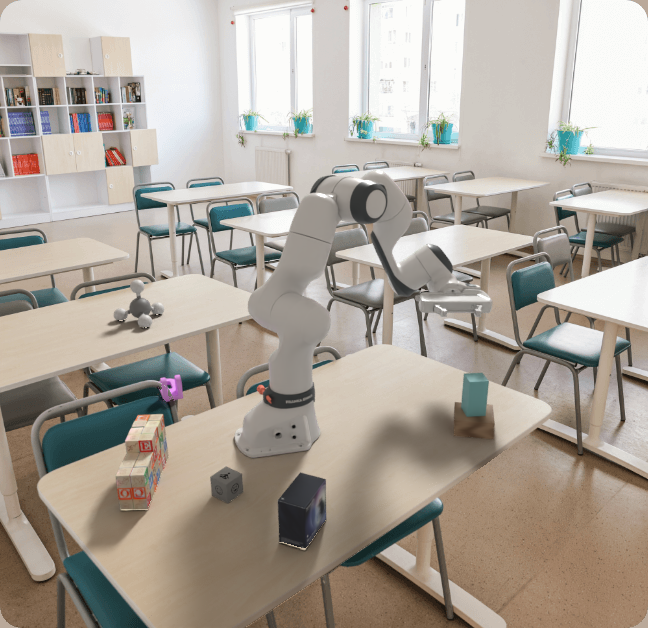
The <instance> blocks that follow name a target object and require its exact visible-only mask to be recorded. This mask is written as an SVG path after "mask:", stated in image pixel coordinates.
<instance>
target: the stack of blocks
mask: <svg viewBox="0 0 648 628" xmlns="http://www.w3.org/2000/svg"><path fill="white" fill-rule="evenodd" d="M164 417H165V416H164V414H163V413H156V414H153V413H152V414H137V416H136V418H135V420H133V423H132V424H131V428H130V429H129V431H128V433H127V436H126V438H125V440H124V444H125V445H124V446H125V450H126V451H125V453H126V454H125V456H124V457H123V460H121V463H120V465H119V467H118V470H117V473H116V474H115V481H116V482H115V483H116V492H117V498H118V504H119V510H120V509H148V506H149V504H150V501H151V500H152V501H153V499H152V498H154V497H153V495H154V496H155V494H154V492H155V493H156V491H157V489H156V487H157V488H158V486H157V484H158V485H159V483H158V481H159V482H160V480H159V478H160V479H161V477H162V474H163V472H162V471H164V470H163V469H165V467H166V465H165V464H167V462H166V461H168V460H167V459H169V457H168V456H169V449H168V442H167V433H166V425H165V418H164ZM164 466H165V467H164ZM161 473H162V474H161ZM160 476H161V477H160ZM155 490H156V491H155ZM152 501H151V502H152ZM150 505H151V504H150ZM149 507H150V506H149ZM148 510H149V509H148Z"/></svg>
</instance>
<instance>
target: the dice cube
mask: <svg viewBox="0 0 648 628" xmlns="http://www.w3.org/2000/svg"><path fill="white" fill-rule="evenodd" d="M209 479H210V488H211V496H212V497H214V498H216V499H217V500H219V501H222V502H224V503H226V504H229V503H231V502H232V501H233V499H234V500H235V499H236V498H238V497H239V496H240V495H242V494H243V493H244V480H243V473H241V472H240V471H238V470H235V469H234V468H231V467H229V466H225V467H223V468H221V469H220V470H218V471H217V472H216V473H214V474H212V475H211V476H210V478H209ZM237 496H238V497H237ZM231 500H232V501H231ZM230 501H231V502H230Z"/></svg>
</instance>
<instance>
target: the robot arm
mask: <svg viewBox="0 0 648 628" xmlns="http://www.w3.org/2000/svg"><path fill="white" fill-rule="evenodd" d="M313 183H314V184H313V185H312V186H311V188H310V192H309V193H308V194H306V195H304V196H303V198H302V199H301V201H300V203H299V205H298V206H297V209H296V211H295V213H294V216H293V218H292V221H291V224H290V227H289V230H288V232H287V237H286V240H285V243H284V247H283V249H282V252H281V256H280V258H279V260H278V263H277V265H276V267H275V269H274V270H273V272H272V273H271V275H270V276H269V278H268V279H266V280H267V281H266V282H265V283H264V284H262V285H261V286H259V287H258V288H256V289H255V290H253V292H251V294H250V296H249V298H248V300H247V312H248V314H249V316H250V317H251V318H252V320H254V321H255V322H256V323H257V324H258V325H260V326H261V327H262V328H264V329H266V330H268V331H271V332H273V333H275V334H277V337H278V345H277V348H276V349H275V350H274V351H273V352H272V353H271V354H270V355H269V357H268V360H267V363H268V378H269V384H268V386H267V387H265V386H264V385H263V384H259V385H258V386H257V387H256V392H258V394H259V395H262V399H261V400H260V401H259V402H258V403H257V404H256V405H254V406H253V408H251V409H250V410H249V411H248V412H246V414H245V415H244V417H243V422H242V427H239V428H238V429H237V428H236V430H235V433H234V442H235V445H236V447H237V448H238V450H239V451H240V452H241V453H242V454H243V455H245V456H247V457H249V458H252V459H253V458H255V459H256V458H261V457H269V456H276V455H284V454H290V453H296V452H297V453H298V452H303V451H308V450H310V449H311V447H312V444H313V443H314V442H315V441H317V439H318V438H319V437H320V436H321V435H320V434H321V428H320V426H319V423H318V419H317V414H316V408H315V402H316V389H315V382H314V380H313V379H314V378H313V359H314V353H315V350H316V347H317V345H318V344H320V343H321V342H323V341H324V340H325V338H326V337H327V336H328V334H329V333H330V330H331V327H332V317H331V314H330V311H329V310H328V309H327V307H325V306H324V305H322V304H321V303H319V302H318V301H317V300H315V299H313V298H310V297H307V296H305V295H303V294H304V292H305V290H306V289H307V287H308V286H309V285H310V284H311V283H312V282H313V281H315V280H317V279H320V277H322V276H323V274H324V272H325V270H326V267H327V263H328V260H329V256H330V252H331V249H332V245H333V242H334V239H335V235H336V230H337V226H338V224H339V223H340V222H341V221H342V222H346V223H354V224H360V225H370V224H372V230H371V232H370V240H371V244H372V246H373V248H374V250H375V253H376V255H377V258H378V259H379V262H380V263H381V265H382V267H383V270H384V272H385V274H386V277H387V281H388V285H389V286H390V288H391V289H392V291H393V292H394V293H395V294H396V295H397V296H399V297H410V296H412V295H413V294H414V293H415V292H417V291H418V290H419V289H420V288H422V287H424V286H425V285H426V287H427V290H428V291H423V292H420V293H419V294H416V295H415V296H414V298H415V301H416V302H418V309H419V311H420V312H421V313H424V314H437V315H439V316H440V317H441V318H445V317H447V316H448V314H473V315H474V317H476V318H481V317H482V314H490V313H491V312H492V308H493V303H494V302H493V300H492V298H491V296H489V294H488V293H487V292H485V291H484V290H482V289H481V286H480V285H478V284H474V283H469V282H468V283H467V282H463V281H460V280H458V279H457V277H456V276H455V275H454V273H453V269H454V268H453V264H452V262H451V260H450V259H449V257H448V256H447V255H446V253H445V252H444V251H443V250H442V248H440V247H439V246H438V245H436V244H434V243H426V244H425V245H423V246H421V247H420V248H418V249H417V250H415V251H414V252H413V253H412V254H410V255H409V256H408V257H406V258H405V259H403V260H401V261H400V262H396V259H395V257H394V255H393V249H394V247H395V246H396V244H397V243H398V241H399V240H400V239H401V238H402V237H403V236H404V234H405V233H406V232H407V231H408V229H409V227H410V226H411V224H412V221H413V215H414V214H413V208H412V205H411V203H410V201H409V199H408V198H407V196H406V195H405V193H404V192H403V190H402V189H401V188H400V186H399V185H398V184H397V183H396V181H395V180H393V178H391V176H390V175H389V174H387V173H386V172H384V171H382V170H370V171H368V172H367V173H365V174H364V175H362V177H361V178H357V177H354V176H347V175H335V174H331V175H330V174H328V175H325V176H320V177H319V178H318V179H317V180H316V181H315V182H313Z"/></svg>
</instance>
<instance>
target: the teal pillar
mask: <svg viewBox="0 0 648 628" xmlns="http://www.w3.org/2000/svg"><path fill="white" fill-rule="evenodd" d="M462 379H463V380H462V390H461V408H462V410H463V411H464V413H465V415H466V416H467V417H472V416H486V406H487V403H488V394H489V384H490V380H489V379H488V378H487V377H486V376H485V374H484V373H483V372H469V373H468V372H466V373H463V378H462Z"/></svg>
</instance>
